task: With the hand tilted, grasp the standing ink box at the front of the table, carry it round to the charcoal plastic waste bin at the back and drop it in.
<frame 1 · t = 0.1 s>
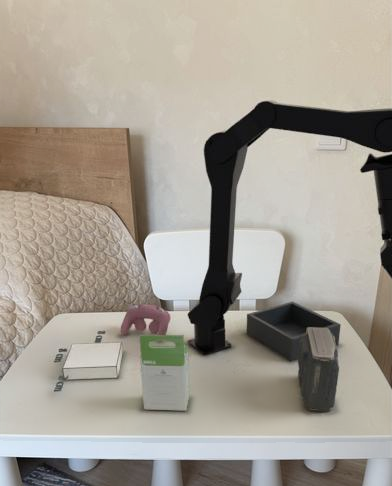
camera: (314, 394, 86), on the table
video game controller: (146, 334, 108), on the table
container: (89, 367, 96), on the table
ink box: (167, 405, 84), on the table
bin: (291, 339, 104), on the table
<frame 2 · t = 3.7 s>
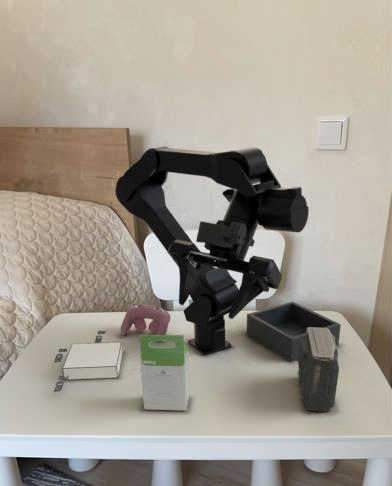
hand: (204, 311, 83), 14 cm above the table, tool tilted 40°, fingers open, 9 cm apart
nothing on the table moved.
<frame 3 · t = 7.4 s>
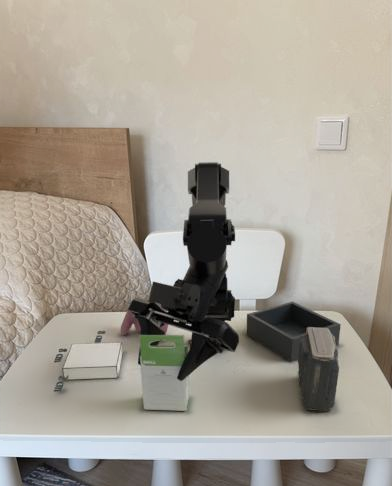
hand: (159, 372, 80), 7 cm above the table, tool tilted 45°, fingers closed on ink box, 8 cm apart
ink box: (167, 405, 84), on the table, touching gripper
everything else where it was.
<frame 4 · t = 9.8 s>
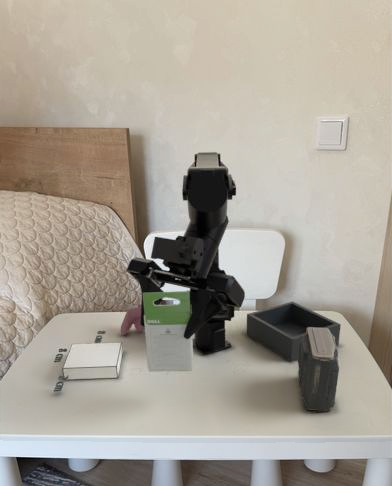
hand: (163, 332, 78), 13 cm above the table, tool tilted 45°, fingers closed on ink box, 8 cm apart
ink box: (171, 367, 82), point 6 cm above the table, touching gripper
everything else where it was.
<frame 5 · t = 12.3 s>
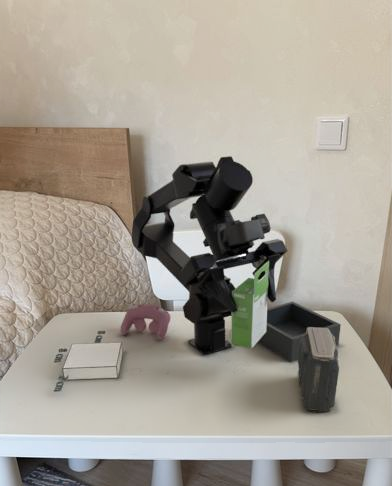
hand: (254, 306, 86), 13 cm above the table, tool tilted 45°, fingers closed on ink box, 8 cm apart
ink box: (248, 339, 90), point 7 cm above the table, touching gripper
everything else where it was.
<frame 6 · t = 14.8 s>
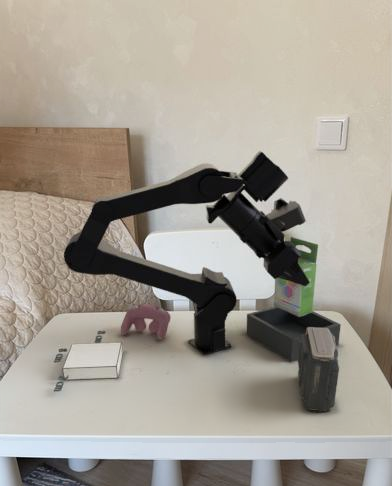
hand: (301, 277, 98), 13 cm above the table, tool tilted 45°, fingers closed on ink box, 8 cm apart
ink box: (292, 310, 101), point 7 cm above the table, touching gripper
everything else where it was.
when the fingers open (7 cm above the table, at t = 17.3 s): ink box stays where it is, resting on bin.
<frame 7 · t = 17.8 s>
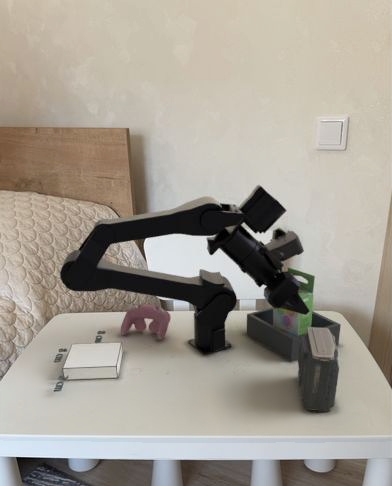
hand: (300, 303, 101), 8 cm above the table, tool tilted 45°, fingers open, 9 cm apart
ink box: (290, 338, 104), resting on bin
everything else where it was.
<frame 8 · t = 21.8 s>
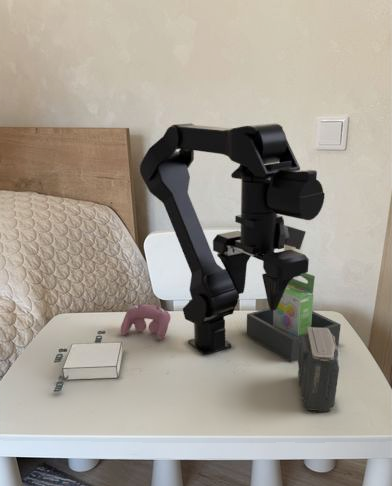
hand: (256, 301, 89), 13 cm above the table, tool pointing down, fingers open, 9 cm apart
nothing on the table moved.
at the end: ink box inside the target area in the bin (0.1 cm from its centre), point 0.4 cm above the bin's base; the gripper is holding nothing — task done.
